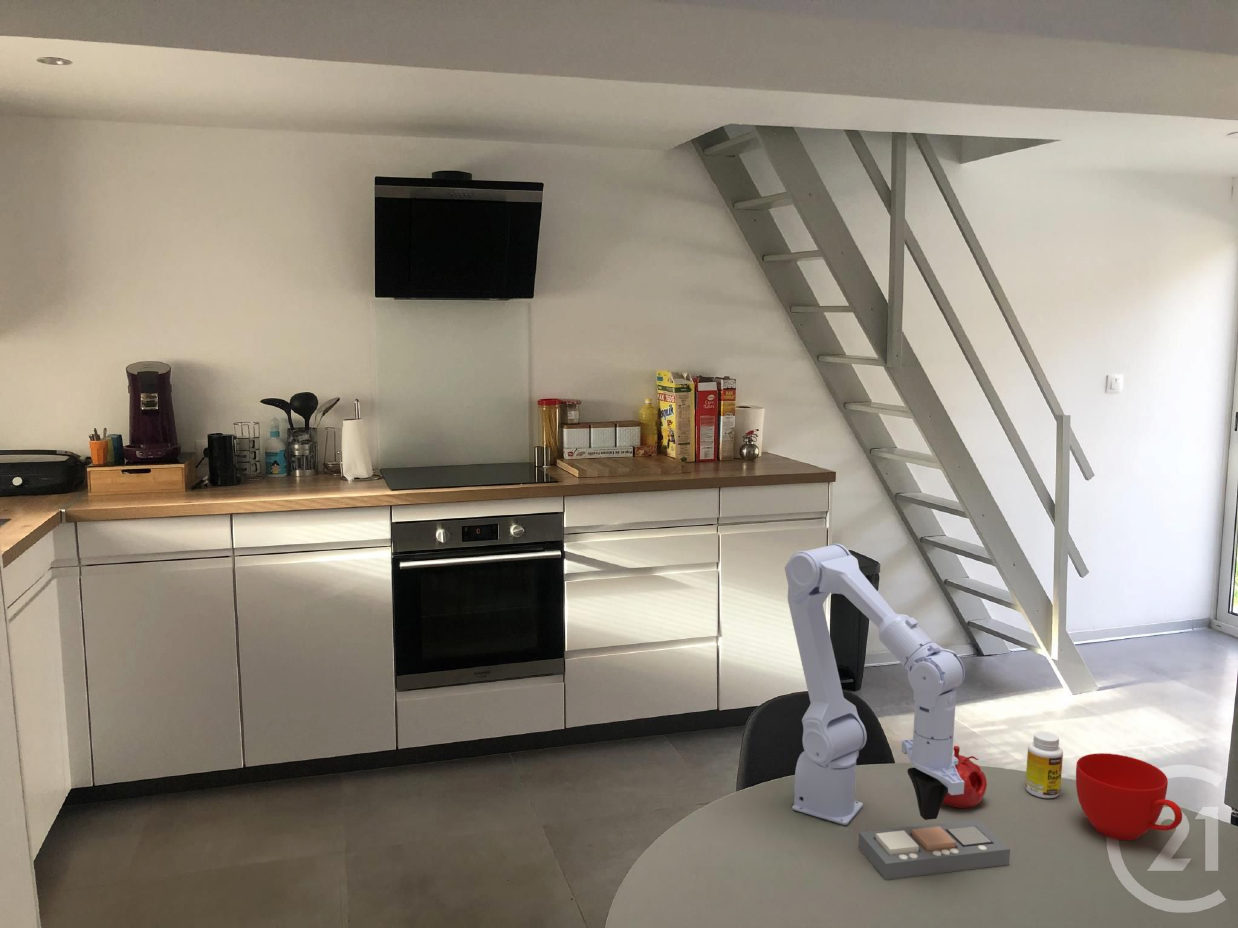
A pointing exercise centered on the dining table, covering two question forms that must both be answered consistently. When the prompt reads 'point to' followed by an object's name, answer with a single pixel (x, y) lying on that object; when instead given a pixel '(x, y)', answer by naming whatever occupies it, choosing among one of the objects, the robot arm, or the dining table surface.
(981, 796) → the red hollow rounded sculpture
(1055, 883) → the dining table surface
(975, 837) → the button one dot
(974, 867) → the button panel
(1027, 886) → the dining table surface
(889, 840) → the button two dot
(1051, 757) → the supplement bottle
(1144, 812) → the ceramic cup
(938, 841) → the button three dot
